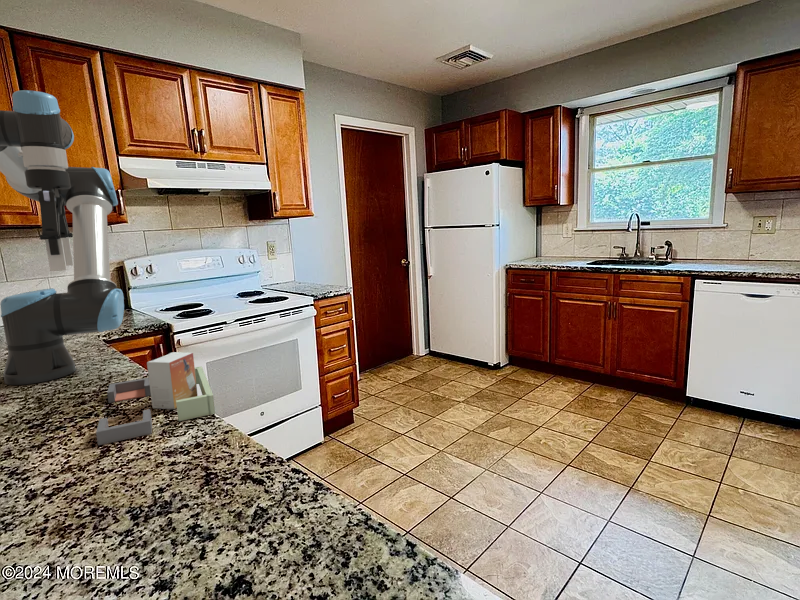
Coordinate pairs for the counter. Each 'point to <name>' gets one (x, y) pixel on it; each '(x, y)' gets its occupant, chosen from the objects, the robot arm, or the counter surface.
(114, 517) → the counter surface
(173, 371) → the small box
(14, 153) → the robot arm
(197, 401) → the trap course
